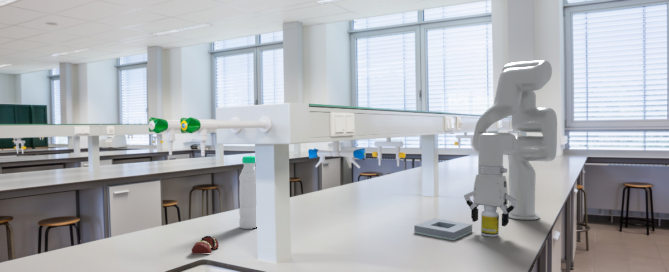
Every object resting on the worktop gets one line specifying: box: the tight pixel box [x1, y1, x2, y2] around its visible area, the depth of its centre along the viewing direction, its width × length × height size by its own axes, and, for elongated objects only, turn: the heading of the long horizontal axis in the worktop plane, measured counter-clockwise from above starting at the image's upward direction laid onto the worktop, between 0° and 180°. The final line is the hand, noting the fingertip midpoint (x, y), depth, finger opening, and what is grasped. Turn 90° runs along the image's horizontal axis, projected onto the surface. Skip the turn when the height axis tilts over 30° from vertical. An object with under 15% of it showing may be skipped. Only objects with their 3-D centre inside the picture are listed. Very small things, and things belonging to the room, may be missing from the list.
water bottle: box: [238, 155, 257, 230], centre depth 151 cm, size 7×7×25 cm
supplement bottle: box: [480, 205, 500, 238], centre depth 141 cm, size 5×5×10 cm
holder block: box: [413, 218, 473, 241], centre depth 144 cm, size 14×14×2 cm
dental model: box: [191, 235, 219, 254], centre depth 123 cm, size 6×4×8 cm
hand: (489, 223), depth 140 cm, fingers open, 9 cm apart
